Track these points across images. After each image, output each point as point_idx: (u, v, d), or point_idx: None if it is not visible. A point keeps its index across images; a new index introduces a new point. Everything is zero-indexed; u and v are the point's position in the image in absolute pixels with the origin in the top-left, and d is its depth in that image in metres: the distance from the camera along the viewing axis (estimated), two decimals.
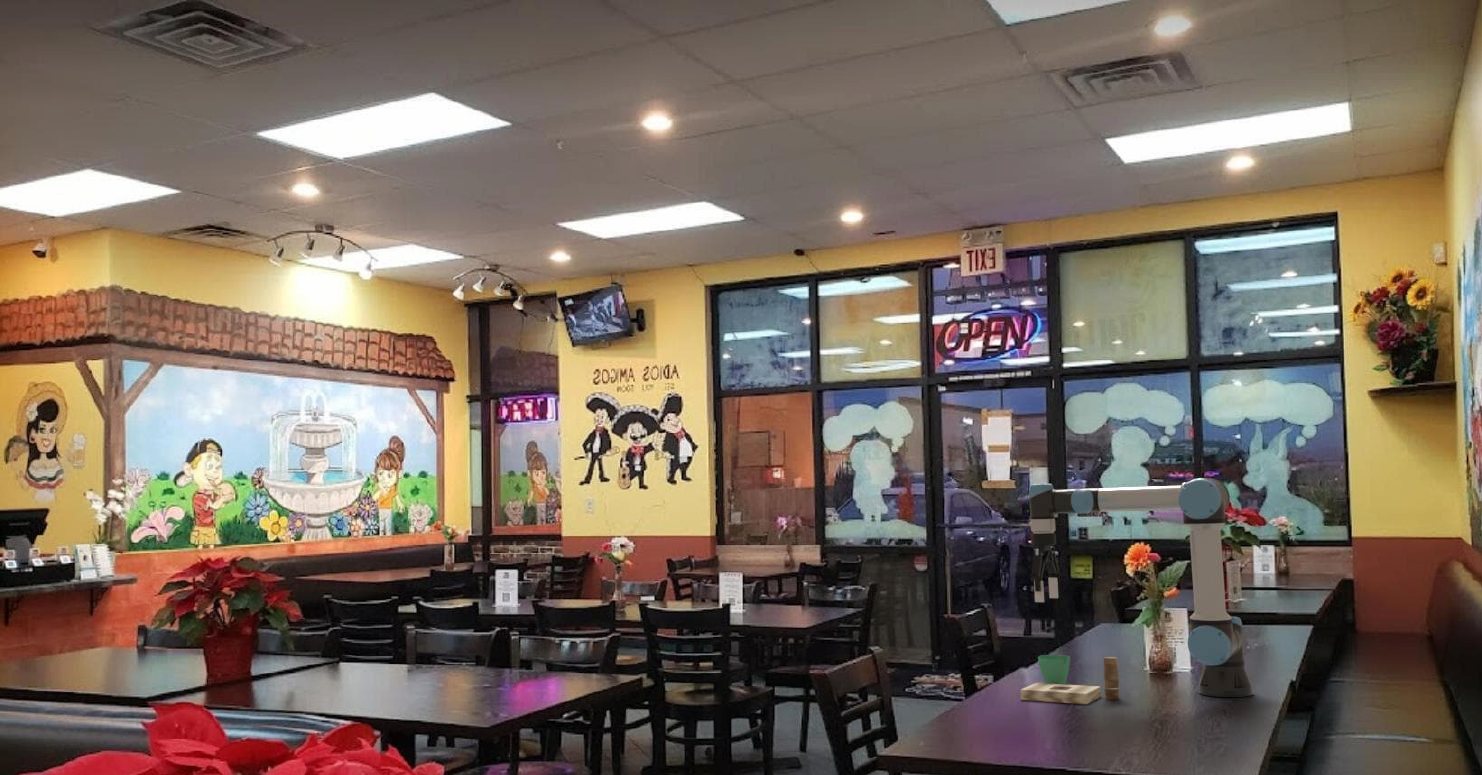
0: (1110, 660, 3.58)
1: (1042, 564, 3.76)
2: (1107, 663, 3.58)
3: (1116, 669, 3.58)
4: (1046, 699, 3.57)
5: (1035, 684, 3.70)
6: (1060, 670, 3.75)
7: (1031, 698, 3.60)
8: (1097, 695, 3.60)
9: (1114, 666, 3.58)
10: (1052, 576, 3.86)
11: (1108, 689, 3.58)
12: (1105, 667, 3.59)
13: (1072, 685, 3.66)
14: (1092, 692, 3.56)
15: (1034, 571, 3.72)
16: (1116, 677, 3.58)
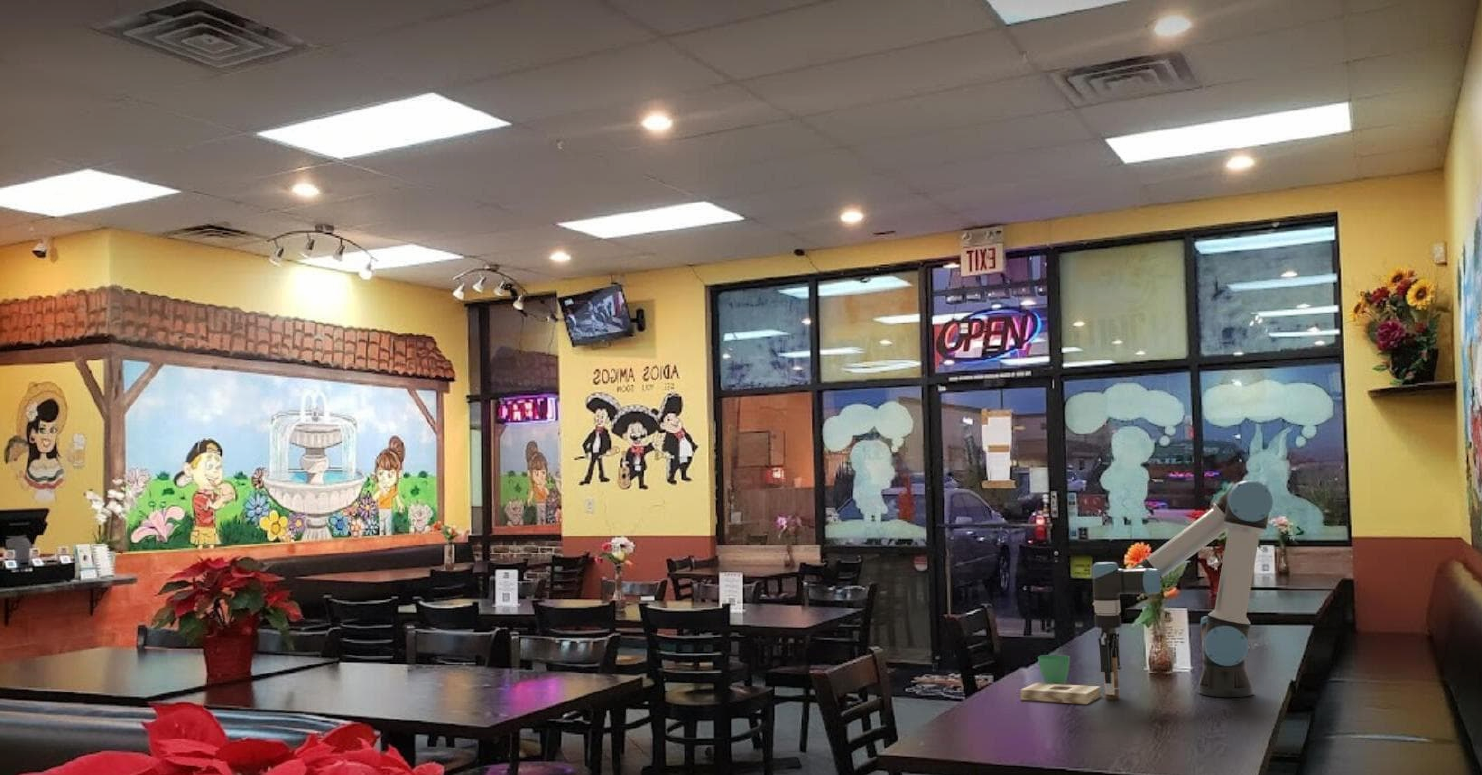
0: None
1: (1109, 652, 3.57)
2: None
3: (1116, 669, 3.58)
4: (1046, 699, 3.57)
5: (1035, 684, 3.70)
6: (1060, 670, 3.75)
7: (1031, 698, 3.60)
8: (1097, 695, 3.60)
9: (1113, 666, 3.58)
10: None
11: None
12: None
13: (1072, 685, 3.66)
14: (1092, 692, 3.56)
15: (1103, 663, 3.55)
16: (1116, 677, 3.58)
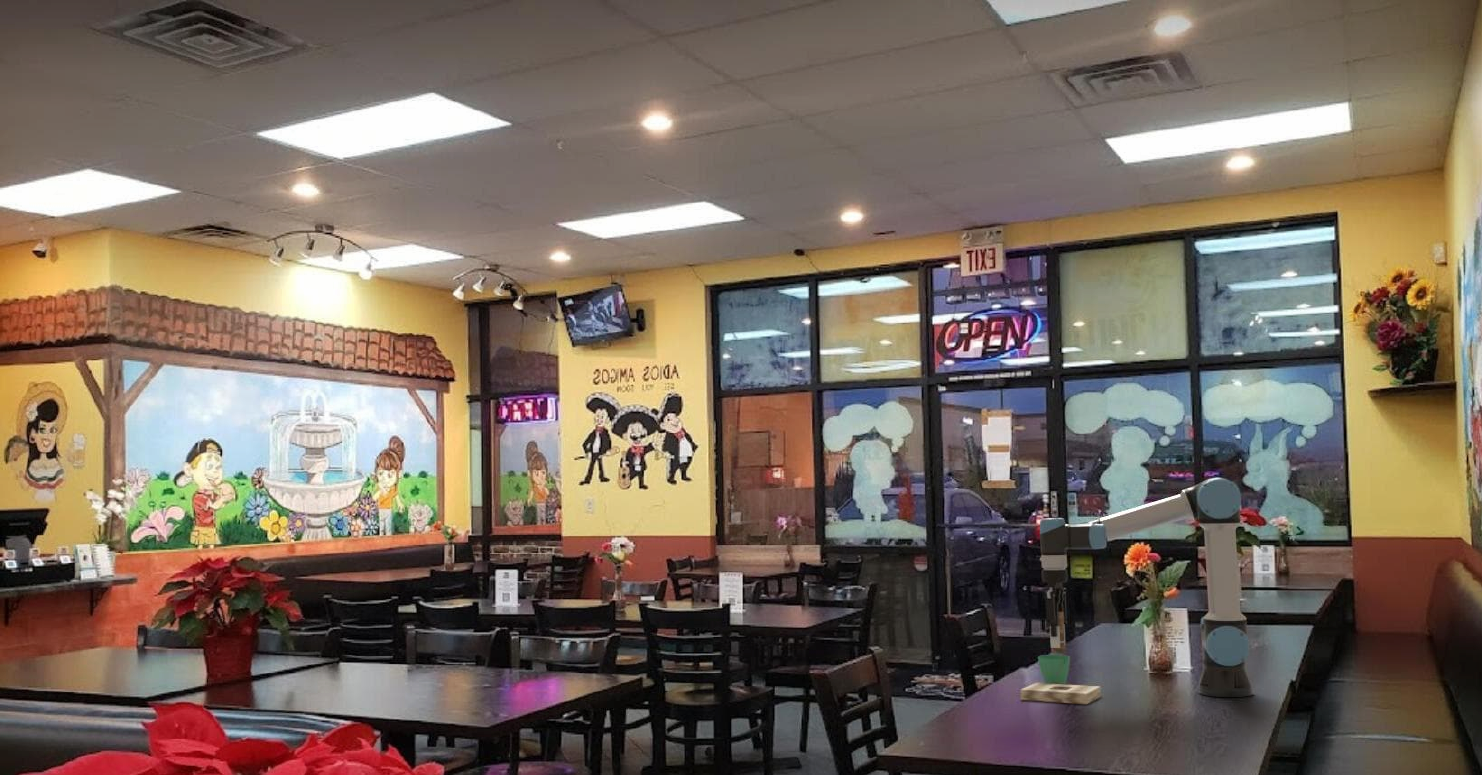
0: None
1: (1055, 606, 3.62)
2: None
3: (1062, 623, 3.63)
4: (1046, 699, 3.57)
5: (1035, 684, 3.70)
6: (1060, 670, 3.75)
7: (1031, 698, 3.60)
8: (1097, 695, 3.60)
9: (1059, 620, 3.62)
10: None
11: None
12: None
13: (1072, 685, 3.66)
14: (1092, 692, 3.56)
15: (1049, 616, 3.60)
16: (1062, 631, 3.62)
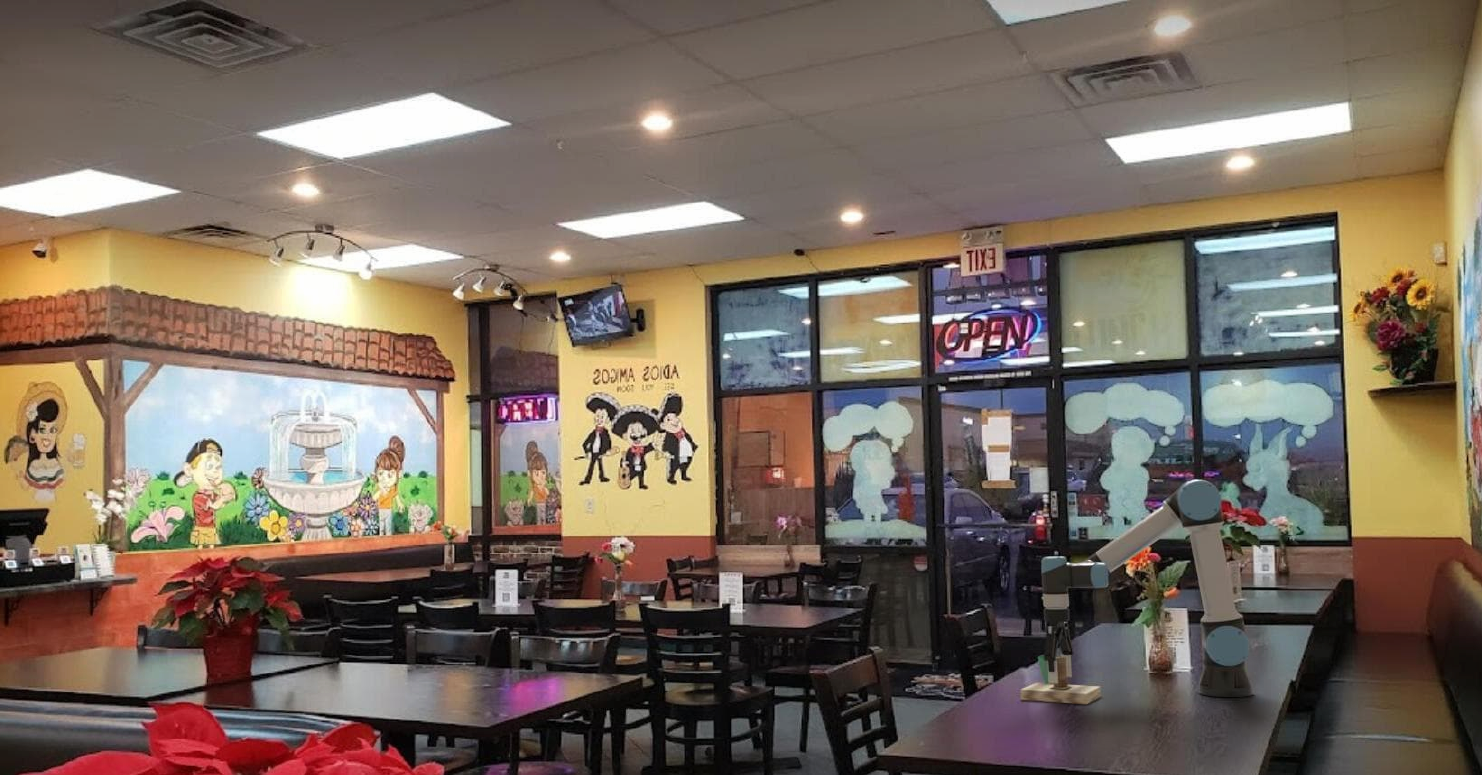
0: (1059, 660, 3.61)
1: (1055, 642, 3.59)
2: None
3: (1065, 669, 3.61)
4: (1046, 699, 3.57)
5: (1035, 684, 3.70)
6: None
7: (1031, 698, 3.60)
8: (1097, 695, 3.60)
9: (1062, 666, 3.61)
10: (1065, 653, 3.69)
11: (1056, 688, 3.61)
12: None
13: (1072, 685, 3.66)
14: (1092, 692, 3.56)
15: (1047, 651, 3.56)
16: (1064, 677, 3.61)
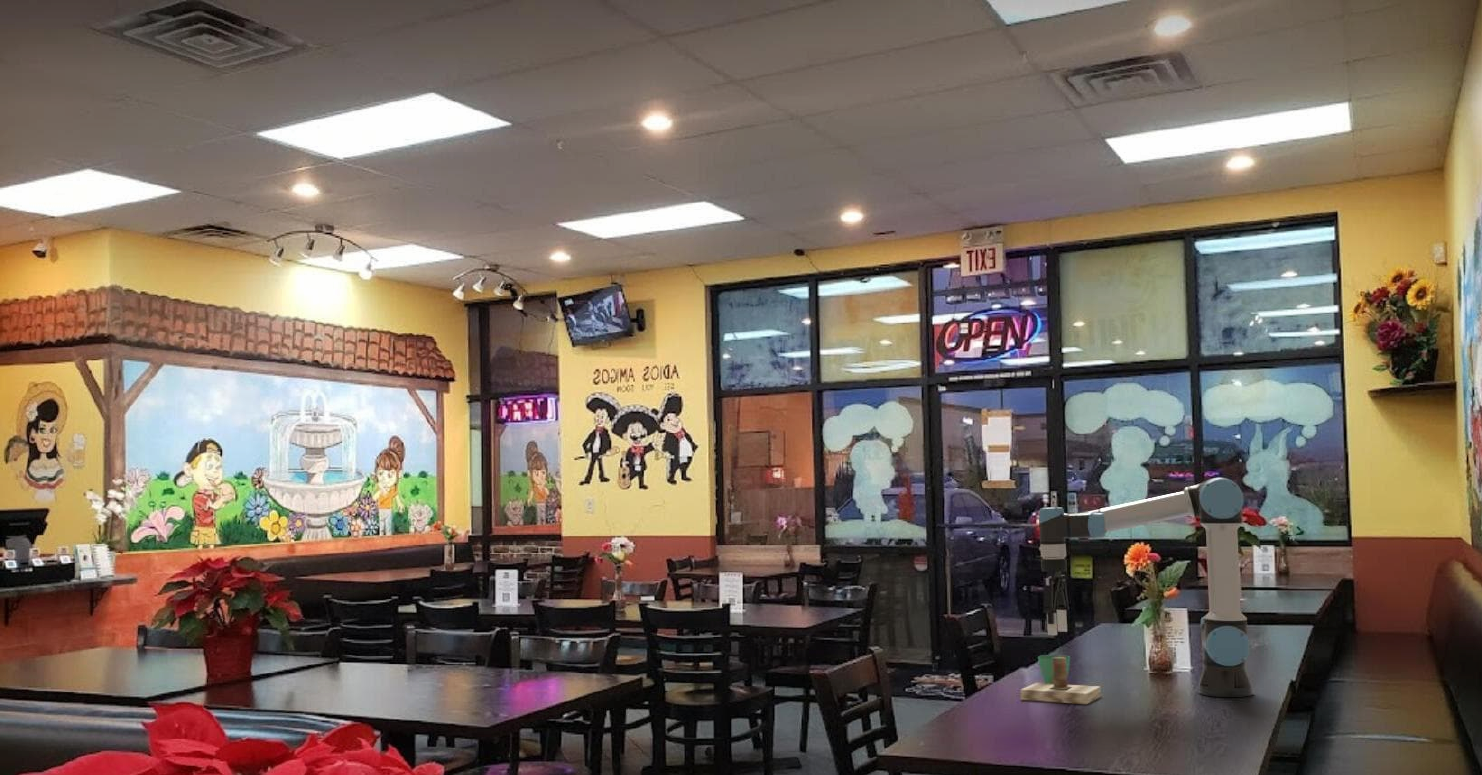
0: (1059, 660, 3.61)
1: (1054, 594, 3.61)
2: (1056, 663, 3.61)
3: (1065, 669, 3.61)
4: (1046, 699, 3.57)
5: (1035, 684, 3.70)
6: None
7: (1031, 698, 3.60)
8: (1097, 695, 3.60)
9: (1062, 666, 3.61)
10: (1060, 608, 3.69)
11: (1056, 688, 3.61)
12: (1054, 667, 3.62)
13: (1072, 685, 3.66)
14: (1092, 692, 3.56)
15: (1046, 603, 3.58)
16: (1064, 677, 3.61)
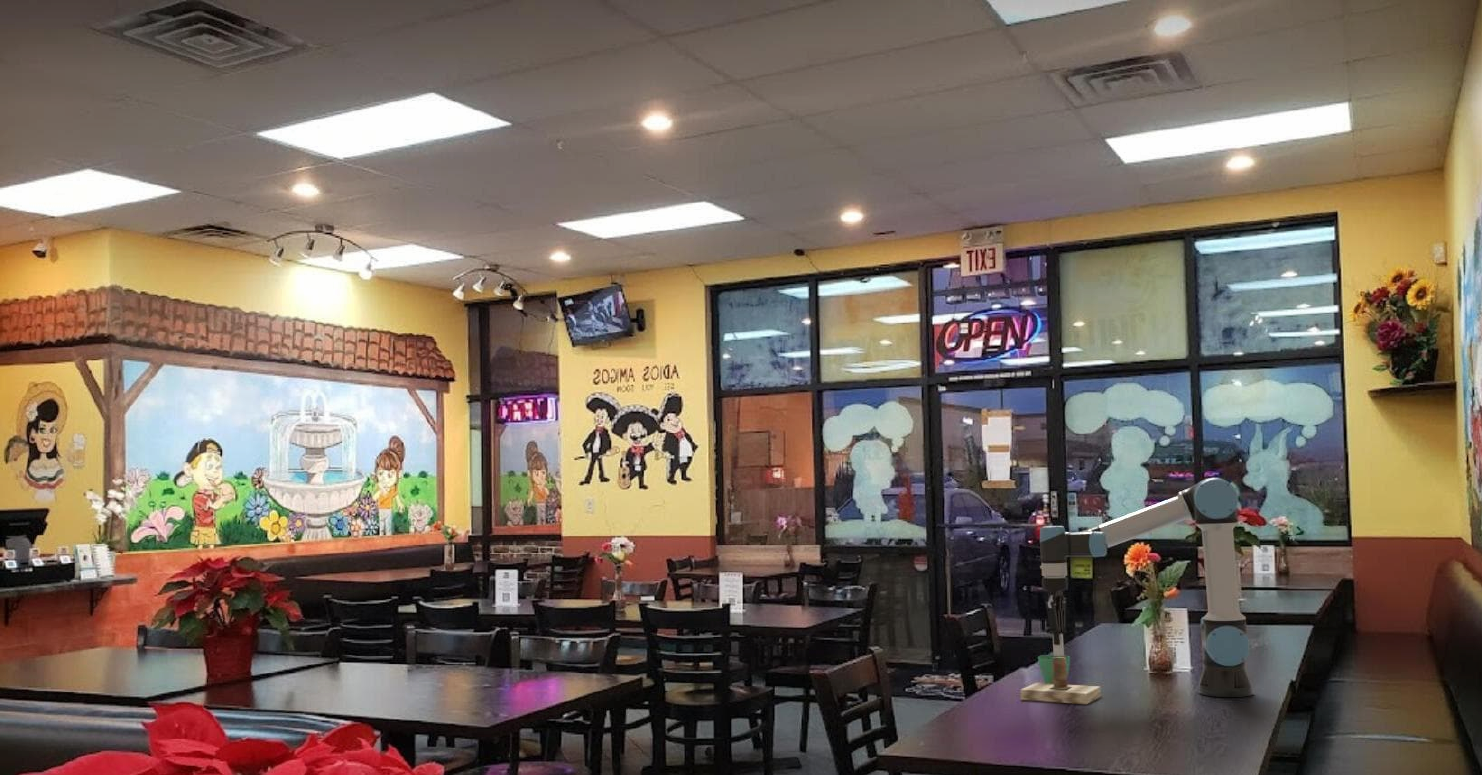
0: (1059, 660, 3.61)
1: (1057, 614, 3.62)
2: (1056, 663, 3.61)
3: (1065, 669, 3.61)
4: (1046, 699, 3.57)
5: (1035, 684, 3.70)
6: None
7: (1031, 698, 3.60)
8: (1097, 695, 3.60)
9: (1062, 666, 3.61)
10: None
11: (1056, 688, 3.61)
12: (1054, 667, 3.62)
13: (1072, 685, 3.66)
14: (1092, 692, 3.56)
15: (1051, 625, 3.61)
16: (1064, 677, 3.61)
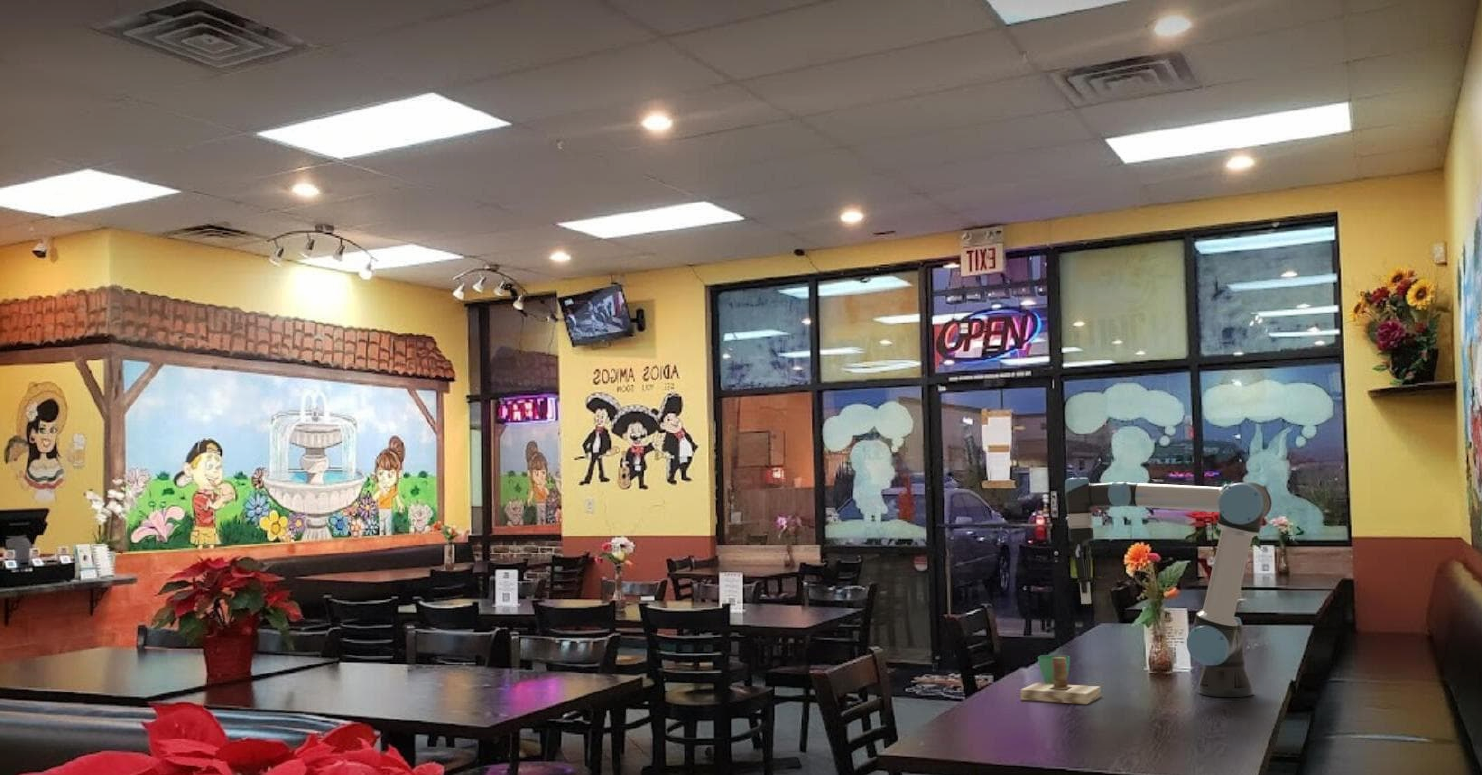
0: (1059, 660, 3.61)
1: (1084, 563, 3.72)
2: (1056, 663, 3.61)
3: (1065, 669, 3.61)
4: (1046, 699, 3.57)
5: (1035, 684, 3.70)
6: None
7: (1031, 698, 3.60)
8: (1097, 695, 3.60)
9: (1062, 666, 3.61)
10: None
11: (1056, 688, 3.61)
12: (1054, 667, 3.62)
13: (1072, 685, 3.66)
14: (1092, 692, 3.56)
15: (1079, 574, 3.70)
16: (1064, 677, 3.61)
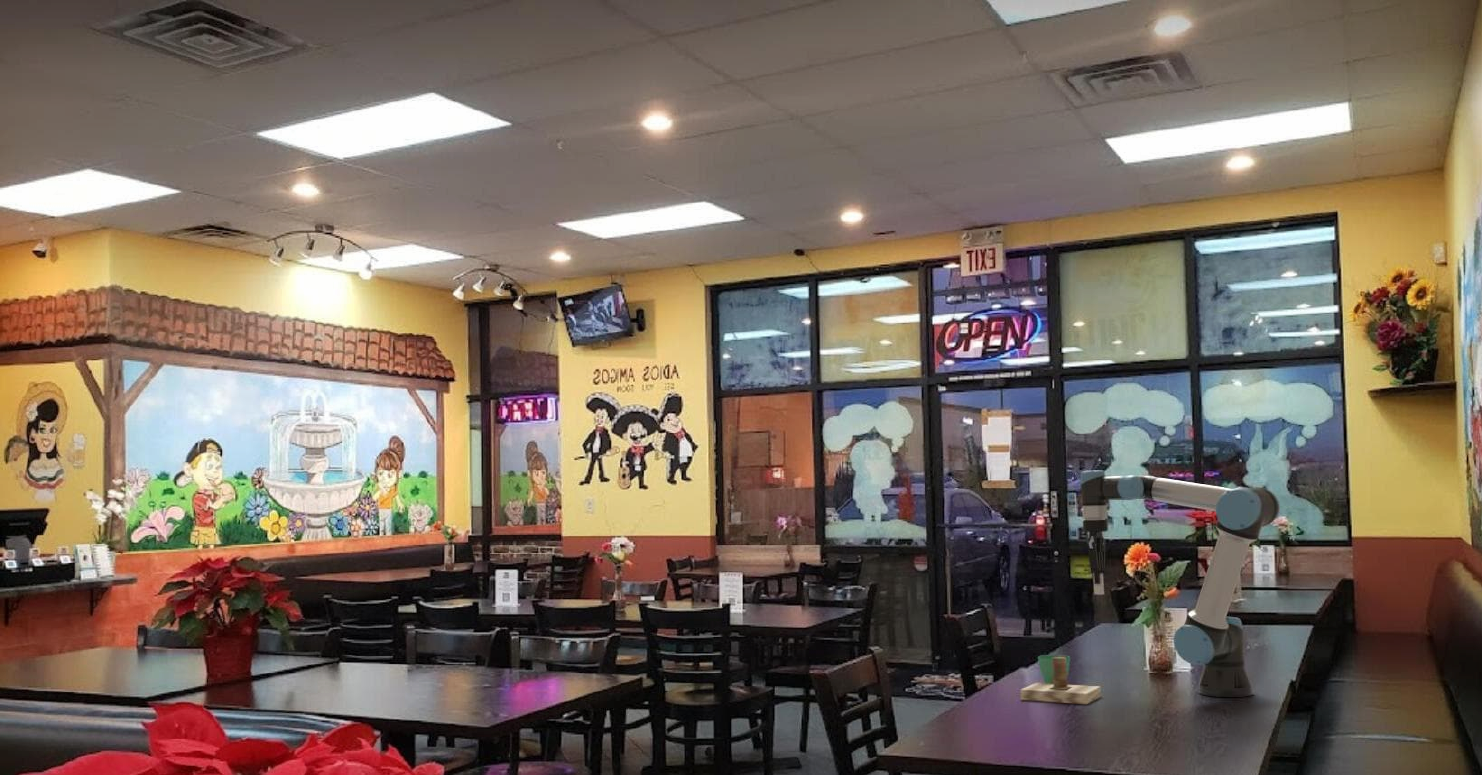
0: (1059, 660, 3.61)
1: (1097, 555, 3.78)
2: (1056, 663, 3.61)
3: (1065, 669, 3.61)
4: (1046, 699, 3.57)
5: (1035, 684, 3.70)
6: None
7: (1031, 698, 3.60)
8: (1097, 695, 3.60)
9: (1062, 666, 3.61)
10: None
11: (1056, 688, 3.61)
12: (1054, 667, 3.62)
13: (1072, 685, 3.66)
14: (1092, 692, 3.56)
15: (1092, 565, 3.76)
16: (1064, 677, 3.61)
